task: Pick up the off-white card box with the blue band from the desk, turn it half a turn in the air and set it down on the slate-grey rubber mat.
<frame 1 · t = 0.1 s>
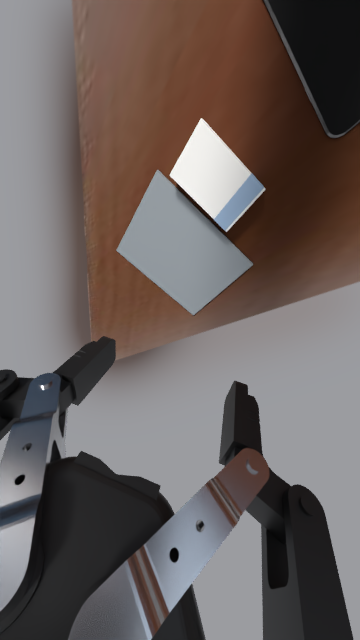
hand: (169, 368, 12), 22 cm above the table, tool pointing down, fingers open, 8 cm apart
smartphone: (342, 12, 16), on the table
card box: (218, 180, 24), on the table
mat: (179, 256, 31), on the table
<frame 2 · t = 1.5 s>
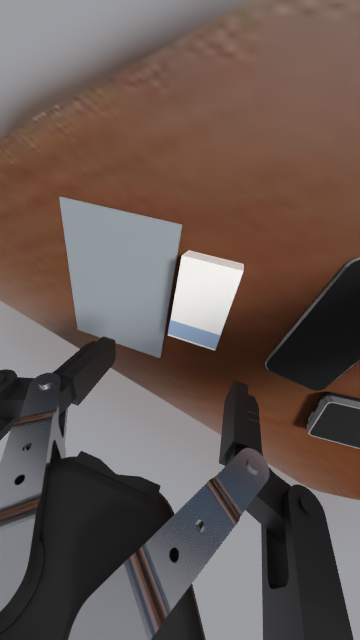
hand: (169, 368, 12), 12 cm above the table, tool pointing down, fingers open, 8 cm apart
smartphone: (331, 332, 21), on the table
card box: (204, 297, 22), on the table
mat: (118, 288, 25), on the table
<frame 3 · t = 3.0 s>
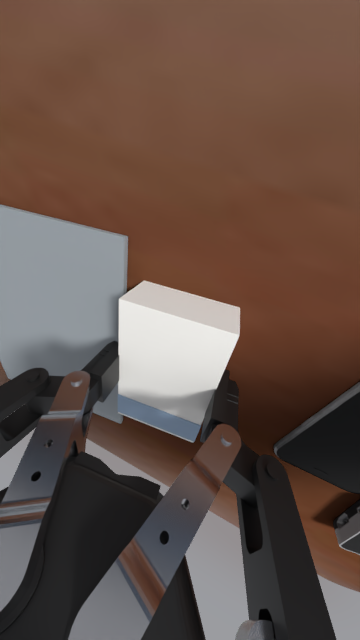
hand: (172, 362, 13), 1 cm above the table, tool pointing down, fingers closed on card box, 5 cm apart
card box: (176, 354, 14), on the table, touching gripper
mat: (49, 330, 16), on the table
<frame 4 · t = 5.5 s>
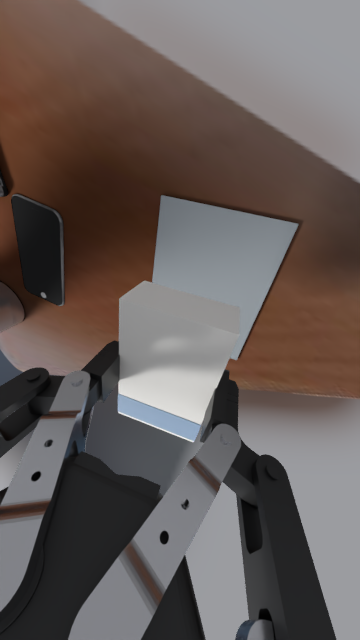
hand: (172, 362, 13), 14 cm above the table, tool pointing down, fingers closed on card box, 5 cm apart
smartphone: (44, 256, 29), on the table
card box: (176, 354, 14), point 13 cm above the table, touching gripper
mat: (205, 289, 24), on the table
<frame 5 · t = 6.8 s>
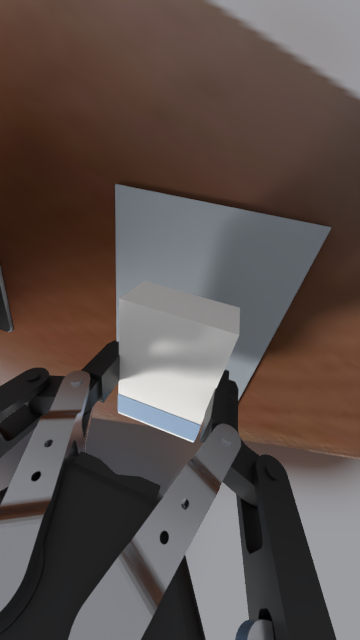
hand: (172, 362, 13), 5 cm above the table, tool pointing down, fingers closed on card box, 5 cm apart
card box: (176, 354, 14), point 5 cm above the table, touching gripper
mat: (189, 319, 17), on the table
when the fingers open (2 cm above the table, at t = 8.0 s): card box stays where it is, resting on mat.
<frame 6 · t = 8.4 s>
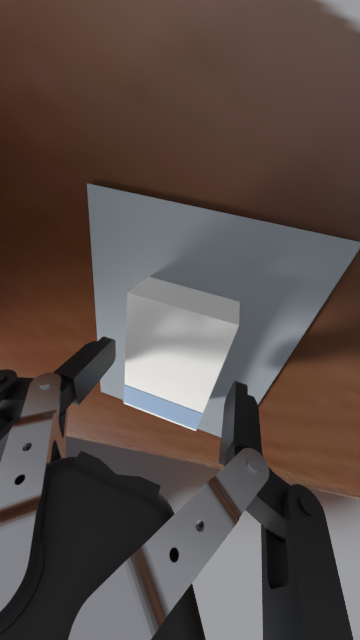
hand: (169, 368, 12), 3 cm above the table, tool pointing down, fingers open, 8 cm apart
card box: (179, 347, 14), resting on mat
mat: (180, 343, 15), on the table
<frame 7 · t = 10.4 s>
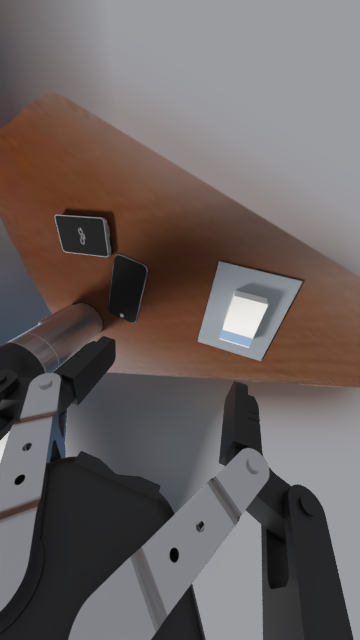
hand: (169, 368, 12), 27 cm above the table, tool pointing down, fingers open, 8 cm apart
smartphone: (127, 290, 43), on the table
external hard drive: (89, 235, 40), on the table
card box: (241, 316, 37), resting on mat
mat: (241, 315, 38), on the table
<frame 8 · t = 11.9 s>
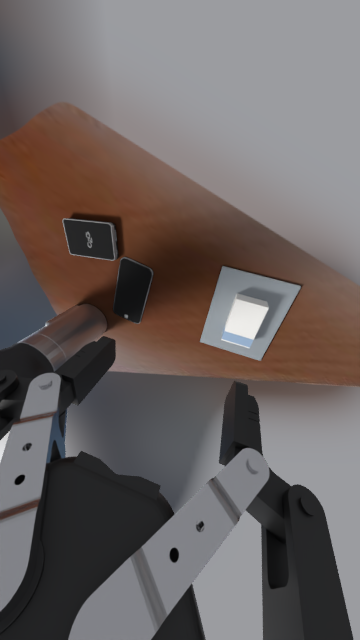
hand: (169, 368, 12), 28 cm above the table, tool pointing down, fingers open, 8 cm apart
smartphone: (132, 292, 45), on the table
external hard drive: (95, 238, 41), on the table
card box: (243, 318, 39), resting on mat
mat: (243, 317, 40), on the table
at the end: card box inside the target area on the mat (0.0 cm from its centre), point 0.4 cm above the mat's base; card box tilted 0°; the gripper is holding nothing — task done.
